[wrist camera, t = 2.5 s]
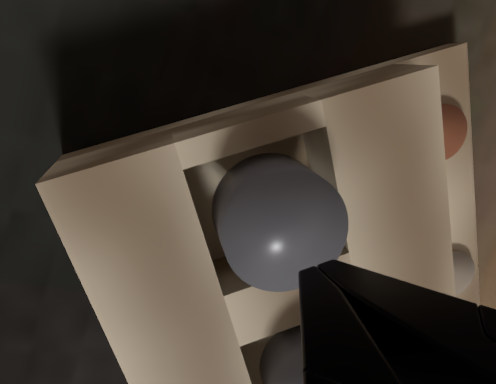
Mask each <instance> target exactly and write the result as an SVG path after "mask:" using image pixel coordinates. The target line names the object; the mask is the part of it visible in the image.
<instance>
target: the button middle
mask: <svg viewBox="0 0 496 384" xmlns="http://www.w3.org/2000/svg"><path fill="white" fill-rule="evenodd" d="M259 368H260V375H261V378H262V381H263V384H303V377H302V375H303V371H302V348H301V326H300V325H298V326H295V327H292V328H290V329H287V330H284V331H281V332H279V333H276V334H275V335H274V336H273V337H272V338H271V339H270V341H269V342H268V343H267V345H266V346H265V348H264V350H263V352H262V355H261V359H260V365H259Z"/></svg>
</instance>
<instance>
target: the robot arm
mask: <svg viewBox="0 0 496 384" xmlns="http://www.w3.org/2000/svg"><path fill="white" fill-rule="evenodd" d="M298 281H299V303H300V326H301V348H302V371H303V375H302V377H303V384H496V309H493V308H490V307H486V306H483V305H479V306H477V304H476V303H473V302H470V301H467V300H463V299H460V298H457V297H454V296H451V295H447V294H444V293H441V292H438V291H435V290H431V289H428V288H425V287H422V286H418V285H415V284H412V283H409V282H406V281H402V280H399V279H396V278H393V277H390V276H386V275H383V274H380V273H377V272H374V271H370V270H367V269H364V268H361V267H358V266H354V265H351V264H348V263H345V262H341V261H338V260H334V259H332V260H329V261H326V262H323V263H320V264H318V265H317V267H316V266H312V267H309V268H306V269H303V270H300V271H299V273H298Z"/></svg>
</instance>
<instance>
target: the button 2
mask: <svg viewBox="0 0 496 384" xmlns="http://www.w3.org/2000/svg"><path fill="white" fill-rule="evenodd" d="M212 218H213V223H214V226H215V229H216V231H217V234H218V237H219V240H220V242H221V245H222V248H223V251H224V253H225V256H226V259H227V261H228V263H229V265H230V267H231V268H232V270H233V271H234V272H235V274H236V275H237V276H238V277H239V278H240V279H241V280H243V281H244V282H246V283H247V284H249V285H251V286H253V287H255V288H258V289H261V290H264V291H270V292H286V291H292V290H296V289H299V281H298V273H299V271H300V270H303V269H306V268H309V267H312V266H316V267H317V265H318V264H320V263H323V262H326V261H329V260H332V259H334V260H337V259H338V258H339V256H340V254H341V252H342V250H343V248H344V245H345V242H346V239H347V234H348V223H349V221H348V213H347V209H346V206H345V203H344V201H343V199H342V197H341V196H340V194H339V192H338V191H337V190H336V189H335V188H334V187H333V186H332V185H331V184H330V183H329V182H328V181H326V180H325V179H323V178H322V177H320V176H319V175H318V174H316V173H315V172H313V171H312V170H311V169H309V168H308V167H306V166H305V165H304V164H302V163H301V162H299V161H298V160H296V159H294V158H292V157H290V156H287V155H284V154H279V153H261V154H257V155H253V156H250V157H248V158H245V159H244V160H242V161H240V162H238V163H237V164H236V165H234V166H233V167H232V168H231V169H230V170H229V171H228V172H227V173H226V174H225V175H224V176H223V178H222V179H221V181H220V182H219V184H218V186H217V188H216V190H215V193H214V196H213V202H212Z"/></svg>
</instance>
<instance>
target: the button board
mask: <svg viewBox="0 0 496 384" xmlns="http://www.w3.org/2000/svg"><path fill="white" fill-rule="evenodd" d="M261 153H279V154H284V155H287V156H290V157H292V158H294V159H296V160H298V161H299V162H301V163H302V164H304V165H305V166H306V167H308V168H309V169H311V170H312V171H313V172H315V173H316V174H318V175H319V176H320V177H322V178H323V179H325V180H326V181H328V182H329V183H330V184H331V185H332V186H333V187H334V188H335V189H336V190H337V191H338V192H339V194H340V196H341V197H342V199H343V201H344V203H345V206H346V209H347V213H348V221H349V223H348V234H347V239H346V242H345V245H344V248H343V250H342V252H341V254H340V256H339V258H338V259H337V260H338V261H341V262H345V263H348V264H351V265H354V266H358V267H361V268H364V269H367V270H370V271H374V272H377V273H380V274H383V275H386V276H390V277H393V278H396V279H399V280H402V281H406V282H409V283H412V284H415V285H418V286H422V287H425V288H428V289H431V290H435V291H438V292H441V293H444V294H447V295H451V296H454V297H457V298H460V299H463V300H467V301H470V302H473V303H476V304H477V306H479V305H480V292H479V272H478V252H477V232H476V212H475V192H474V172H473V152H472V132H471V112H470V92H469V72H468V52H467V43H448V44H445V45H441V46H438V47H434V48H431V49H427V50H424V51H421V52H417V53H414V54H410V55H407V56H403V57H400V58H396V59H393V60H389V61H386V62H382V63H379V64H376V65H372V66H369V67H365V68H362V69H358V70H355V71H351V72H348V73H344V74H341V75H337V76H334V77H330V78H327V79H324V80H320V81H317V82H313V83H310V84H306V85H303V86H299V87H296V88H292V89H289V90H285V91H282V92H278V93H275V94H272V95H268V96H265V97H261V98H258V99H254V100H251V101H247V102H244V103H240V104H237V105H233V106H230V107H226V108H223V109H220V110H216V111H213V112H209V113H206V114H202V115H199V116H195V117H192V118H188V119H185V120H181V121H178V122H175V123H171V124H168V125H164V126H161V127H157V128H154V129H150V130H147V131H143V132H140V133H136V134H133V135H129V136H126V137H123V138H119V139H116V140H112V141H109V142H105V143H102V144H98V145H95V146H91V147H88V148H84V149H81V150H77V151H74V152H71V153H67V154H64V155H62V156H61V157H60V158H59V159H58V160H57V161H56V162H55V163H54V164H53V165H52V167H51V168H50V169H49V170H48V171H47V172H46V173H45V174H44V175H43V176H42V177H41V178H40V179H39V181H38V182H37V183H36V184H35V185H36V187H37V189H38V191H39V193H40V195H41V198H42V200H43V202H44V204H45V206H46V208H47V210H48V213H49V215H50V217H51V219H52V221H53V223H54V225H55V228H56V230H57V232H58V234H59V236H60V238H61V240H62V243H63V245H64V247H65V249H66V251H67V253H68V255H69V258H70V260H71V262H72V264H73V266H74V268H75V270H76V273H77V275H78V277H79V279H80V281H81V283H82V285H83V288H84V290H85V292H86V294H87V296H88V298H89V300H90V303H91V305H92V307H93V309H94V311H95V313H96V315H97V318H98V320H99V322H100V324H101V326H102V328H103V330H104V333H105V335H106V337H107V339H108V341H109V343H110V345H111V348H112V350H113V352H114V354H115V356H116V358H117V360H118V363H119V365H120V367H121V369H122V371H123V373H124V375H125V378H126V380H127V382H128V384H263V381H262V378H261V375H260V368H259V365H260V359H261V355H262V352H263V350H264V348H265V346H266V345H267V343H268V342H269V341H270V339H271V338H272V337H273V336H274V335H275V334H276V333H279V332H281V331H284V330H287V329H290V328H292V327H295V326H298V325H300V303H299V289H296V290H292V291H286V292H270V291H264V290H261V289H258V288H255V287H253V286H251V285H249V284H247V283H246V282H244V281H243V280H241V279H240V278H239V277H238V276H237V275H236V274H235V272H234V271H233V270H232V268H231V267H230V265H229V263H228V261H227V259H226V256H225V253H224V251H223V248H222V245H221V242H220V240H219V237H218V234H217V231H216V229H215V226H214V223H213V218H212V202H213V196H214V193H215V190H216V188H217V186H218V184H219V182H220V181H221V179H222V178H223V176H224V175H225V174H226V173H227V172H228V171H229V170H230V169H231V168H232V167H233V166H234V165H236V164H237V163H238V162H240V161H242V160H244V159H245V158H248V157H250V156H253V155H257V154H261Z"/></svg>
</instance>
